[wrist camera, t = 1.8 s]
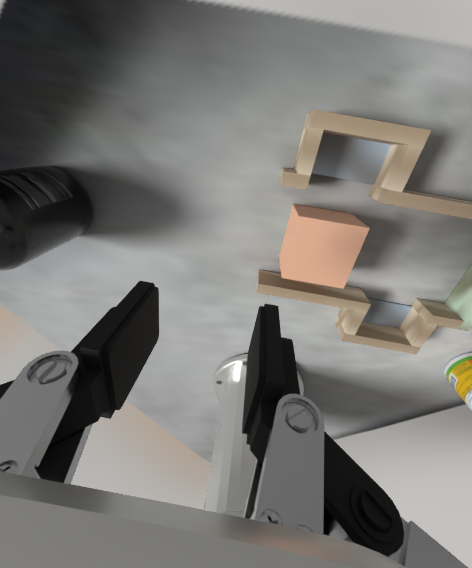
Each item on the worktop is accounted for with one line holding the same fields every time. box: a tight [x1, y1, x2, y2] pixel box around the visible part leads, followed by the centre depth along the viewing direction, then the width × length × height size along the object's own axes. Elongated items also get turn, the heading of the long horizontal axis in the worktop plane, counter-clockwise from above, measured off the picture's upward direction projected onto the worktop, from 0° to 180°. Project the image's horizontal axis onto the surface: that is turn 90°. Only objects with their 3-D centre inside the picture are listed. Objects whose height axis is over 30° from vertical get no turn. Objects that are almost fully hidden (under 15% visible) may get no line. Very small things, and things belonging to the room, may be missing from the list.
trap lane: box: [256, 110, 472, 354], centre depth 22 cm, size 19×21×3 cm
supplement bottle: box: [0, 166, 92, 270], centre depth 19 cm, size 7×7×12 cm
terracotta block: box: [279, 204, 370, 289], centre depth 22 cm, size 6×6×4 cm
